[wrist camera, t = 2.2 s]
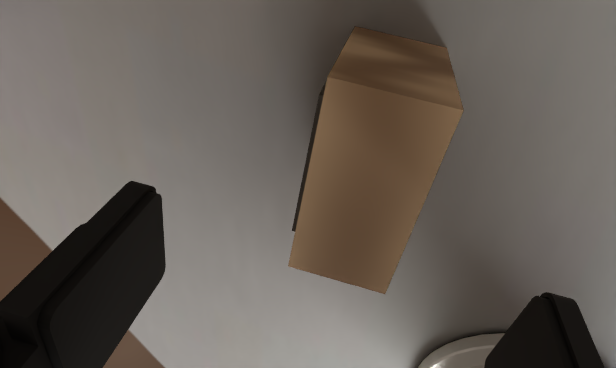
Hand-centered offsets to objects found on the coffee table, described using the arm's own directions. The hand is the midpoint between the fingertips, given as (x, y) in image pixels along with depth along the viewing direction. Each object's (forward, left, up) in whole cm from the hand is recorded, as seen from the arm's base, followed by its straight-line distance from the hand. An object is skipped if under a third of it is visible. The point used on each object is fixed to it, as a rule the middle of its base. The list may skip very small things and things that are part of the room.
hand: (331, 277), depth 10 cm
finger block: (0, +1, -11) cm, 11 cm away
